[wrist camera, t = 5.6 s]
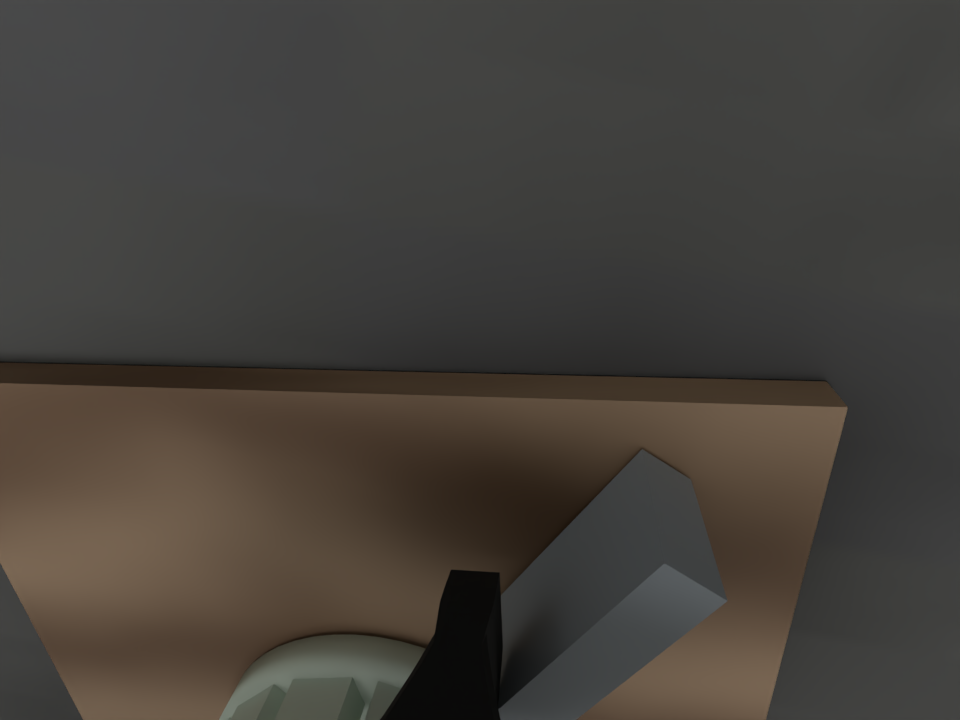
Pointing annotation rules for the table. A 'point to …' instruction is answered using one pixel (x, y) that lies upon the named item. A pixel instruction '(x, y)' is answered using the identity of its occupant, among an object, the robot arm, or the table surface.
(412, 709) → the robot arm
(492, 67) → the table surface
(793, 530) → the walnut board
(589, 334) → the table surface
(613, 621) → the turntable
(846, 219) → the table surface
